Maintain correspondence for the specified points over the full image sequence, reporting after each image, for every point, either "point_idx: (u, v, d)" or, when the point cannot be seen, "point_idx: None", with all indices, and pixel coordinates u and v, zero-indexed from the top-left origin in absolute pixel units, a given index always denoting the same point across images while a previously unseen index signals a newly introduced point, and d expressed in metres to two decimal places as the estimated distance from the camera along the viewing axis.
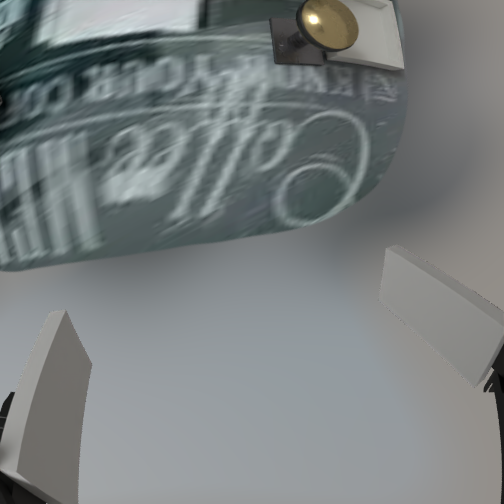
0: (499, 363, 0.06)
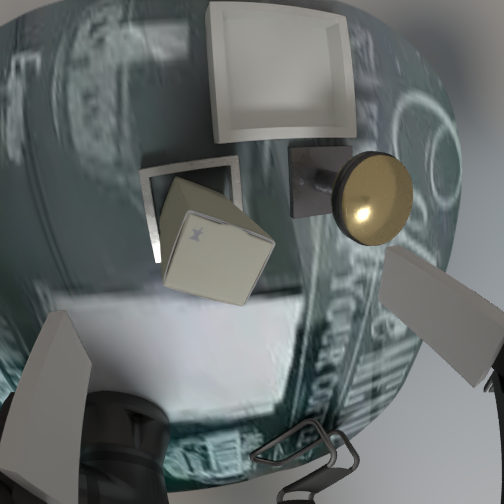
0: (499, 363, 0.06)
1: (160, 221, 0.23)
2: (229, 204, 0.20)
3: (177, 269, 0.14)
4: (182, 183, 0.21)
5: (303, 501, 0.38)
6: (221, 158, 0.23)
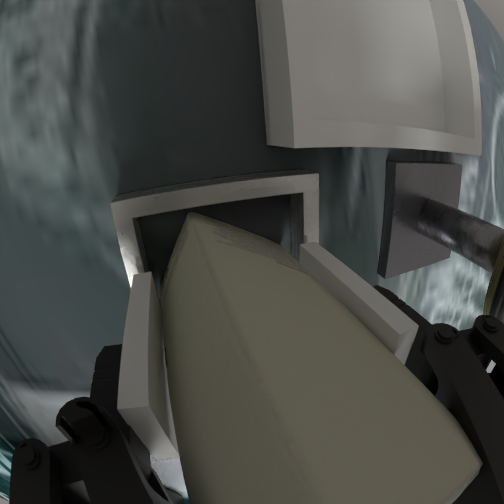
0: None
1: (163, 311, 0.11)
2: (332, 304, 0.08)
3: None
4: (212, 244, 0.09)
5: None
6: (287, 178, 0.11)
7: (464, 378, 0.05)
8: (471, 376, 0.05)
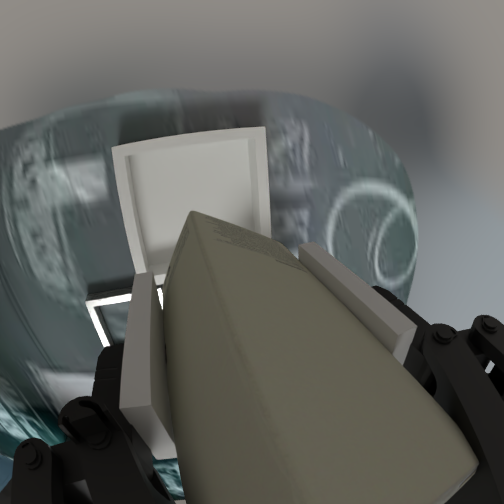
0: None
1: (164, 308, 0.11)
2: (330, 302, 0.08)
3: None
4: (211, 242, 0.09)
5: None
6: None
7: (463, 378, 0.05)
8: (470, 376, 0.05)
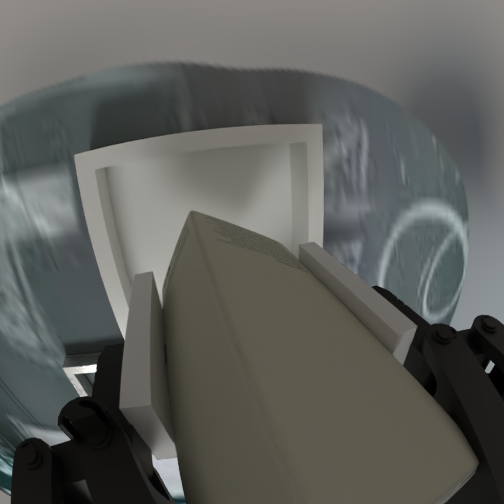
0: None
1: (164, 308, 0.11)
2: (330, 302, 0.08)
3: None
4: (211, 242, 0.09)
5: None
6: None
7: (463, 378, 0.05)
8: (470, 376, 0.05)
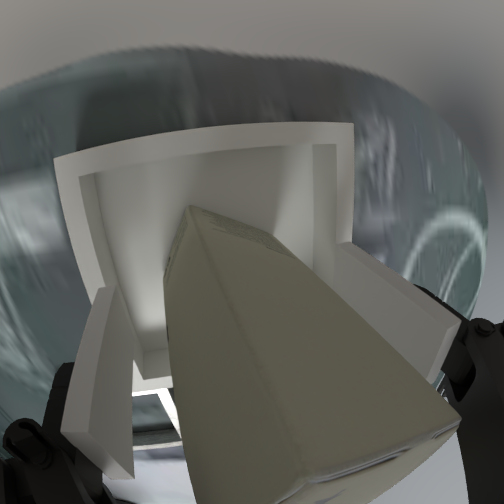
0: (449, 369, 0.07)
1: (165, 294, 0.12)
2: (314, 282, 0.10)
3: None
4: (208, 231, 0.10)
5: None
6: None
7: (499, 367, 0.05)
8: None
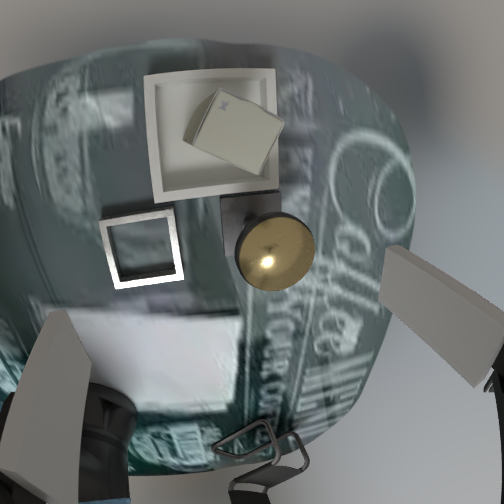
0: (499, 363, 0.06)
1: (184, 137, 0.25)
2: None
3: (206, 132, 0.16)
4: None
5: (255, 493, 0.44)
6: (159, 211, 0.29)
7: None
8: None
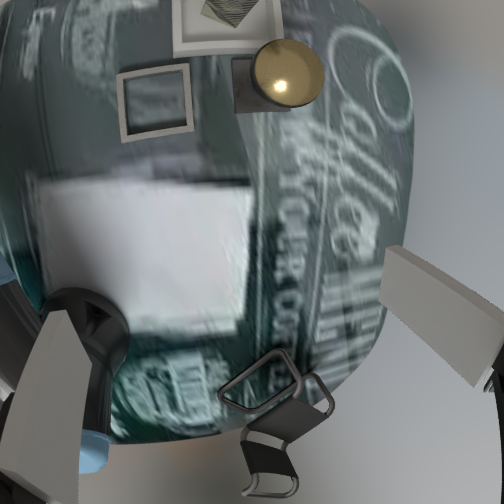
0: (499, 363, 0.06)
1: None
2: None
3: None
4: None
5: (273, 449, 0.41)
6: (176, 65, 0.27)
7: None
8: None
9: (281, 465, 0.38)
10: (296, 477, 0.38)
